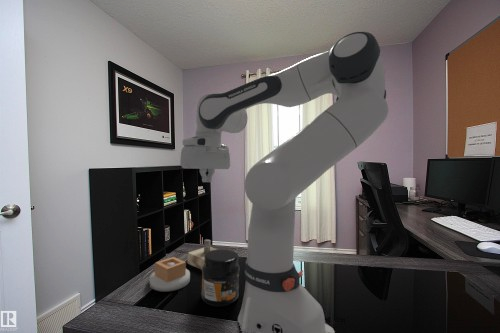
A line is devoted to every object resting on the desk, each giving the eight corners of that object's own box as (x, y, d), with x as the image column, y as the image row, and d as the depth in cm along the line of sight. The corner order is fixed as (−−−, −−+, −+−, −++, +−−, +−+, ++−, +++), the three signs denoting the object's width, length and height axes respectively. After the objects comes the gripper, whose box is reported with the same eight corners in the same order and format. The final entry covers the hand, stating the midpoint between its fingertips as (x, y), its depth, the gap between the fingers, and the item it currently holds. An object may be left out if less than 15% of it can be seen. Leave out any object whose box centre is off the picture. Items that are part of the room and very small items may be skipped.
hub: (197, 280, 75) (198, 263, 75) (163, 296, 66) (164, 276, 66) (175, 269, 83) (175, 253, 83) (141, 282, 73) (142, 264, 73)
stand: (225, 262, 90) (226, 240, 90) (205, 271, 82) (206, 247, 82) (207, 255, 96) (208, 235, 96) (187, 263, 88) (188, 240, 88)
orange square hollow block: (185, 274, 75) (185, 262, 75) (167, 282, 69) (167, 269, 69) (173, 268, 79) (173, 256, 79) (154, 275, 73) (155, 262, 73)
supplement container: (202, 311, 60) (204, 264, 60) (199, 289, 70) (201, 249, 70) (242, 305, 63) (244, 260, 63) (234, 285, 73) (235, 247, 73)
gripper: (222, 145, 92) (221, 180, 92) (178, 139, 76) (176, 182, 76) (234, 145, 89) (233, 181, 89) (190, 138, 72) (189, 183, 72)
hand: (206, 182), depth 82 cm, fingers closed
